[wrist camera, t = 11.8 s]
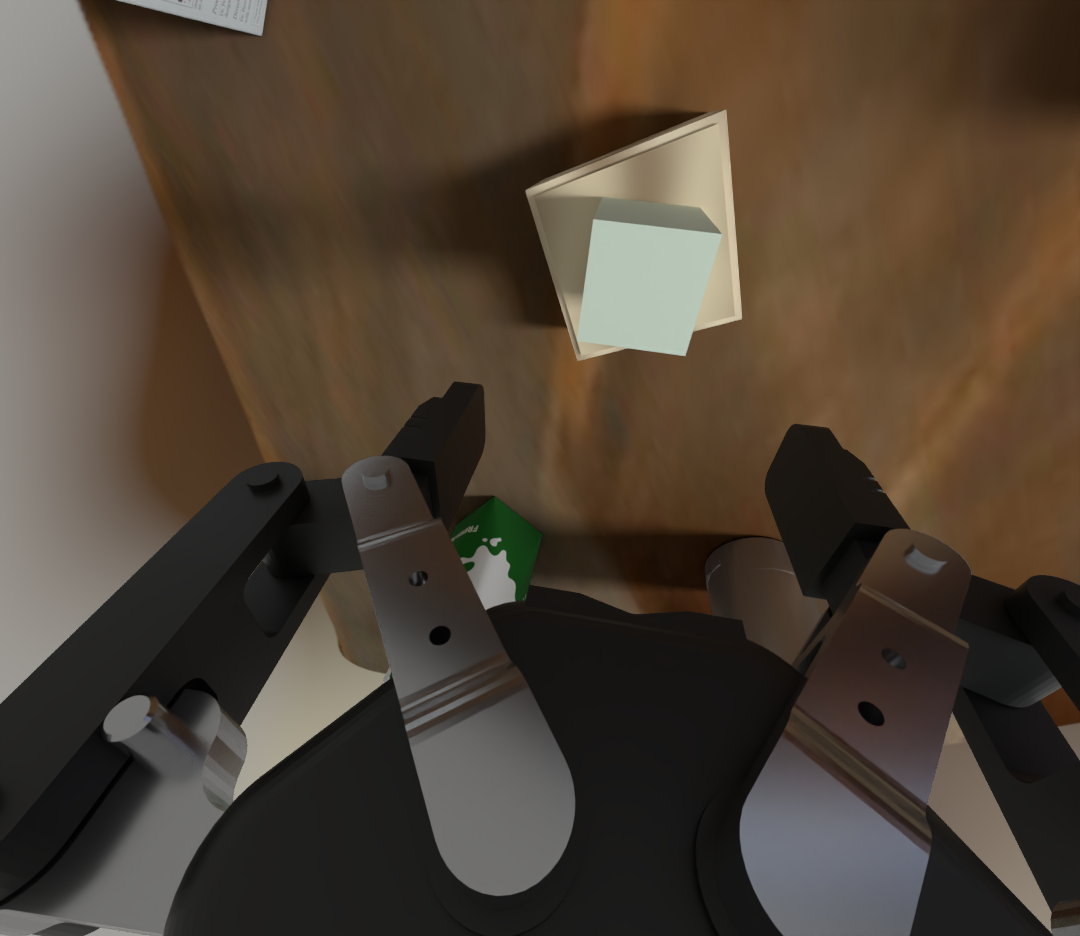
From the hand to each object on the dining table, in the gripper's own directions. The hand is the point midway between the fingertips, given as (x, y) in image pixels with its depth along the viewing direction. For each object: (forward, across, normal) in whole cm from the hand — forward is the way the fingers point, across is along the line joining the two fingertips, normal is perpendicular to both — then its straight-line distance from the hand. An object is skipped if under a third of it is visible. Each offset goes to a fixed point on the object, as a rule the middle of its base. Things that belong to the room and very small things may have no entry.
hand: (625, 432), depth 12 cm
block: (+16, 0, -1) cm, 17 cm away
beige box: (+23, 0, -1) cm, 23 cm away
